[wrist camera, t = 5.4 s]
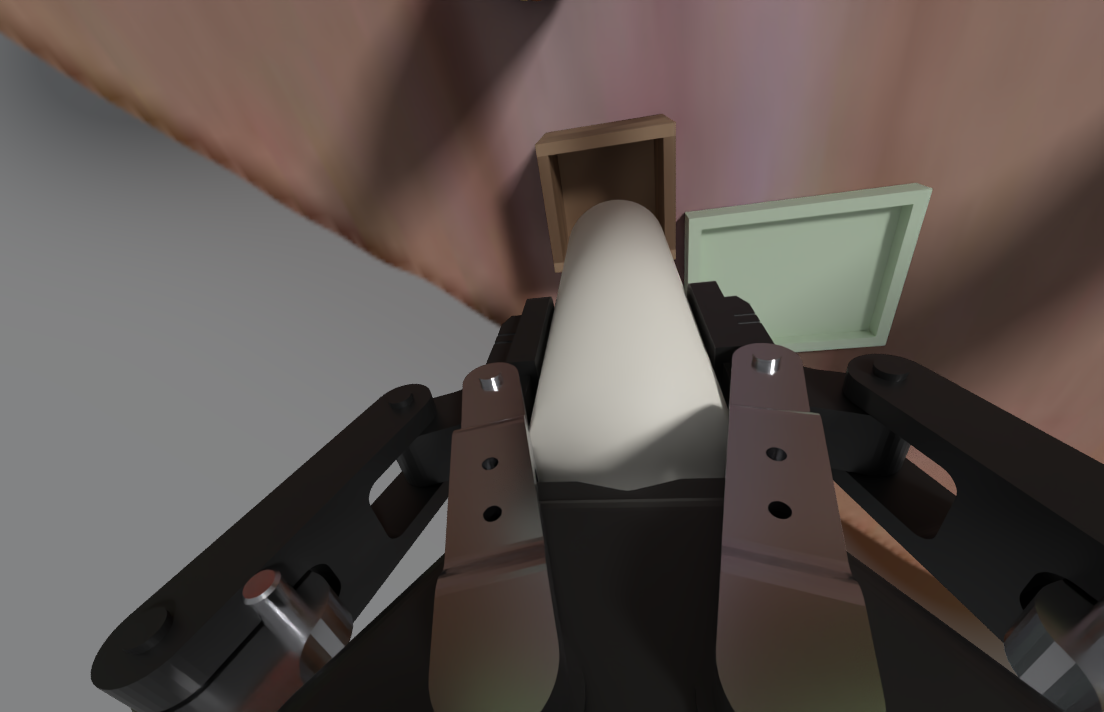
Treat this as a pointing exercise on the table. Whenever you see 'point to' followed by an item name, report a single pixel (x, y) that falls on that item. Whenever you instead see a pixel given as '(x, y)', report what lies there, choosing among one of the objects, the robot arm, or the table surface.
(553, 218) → the pen cup
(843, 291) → the tray
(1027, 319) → the table surface
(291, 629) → the robot arm
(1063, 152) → the table surface
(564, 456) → the dowel
